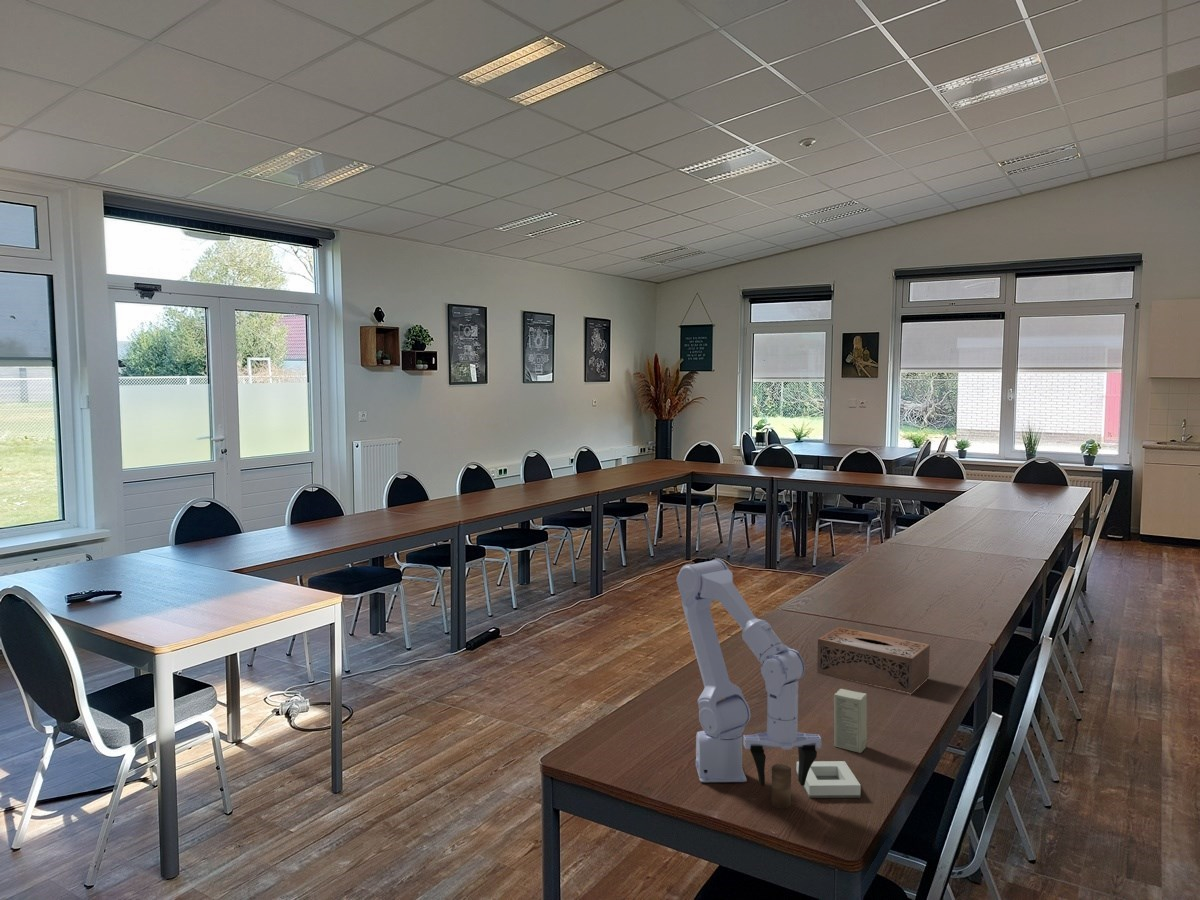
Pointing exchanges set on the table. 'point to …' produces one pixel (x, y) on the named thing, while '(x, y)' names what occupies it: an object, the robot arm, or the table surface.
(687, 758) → the table surface
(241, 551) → the table surface
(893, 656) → the tissue box cover
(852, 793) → the socket block
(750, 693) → the table surface
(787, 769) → the pin
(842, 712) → the skincare box
